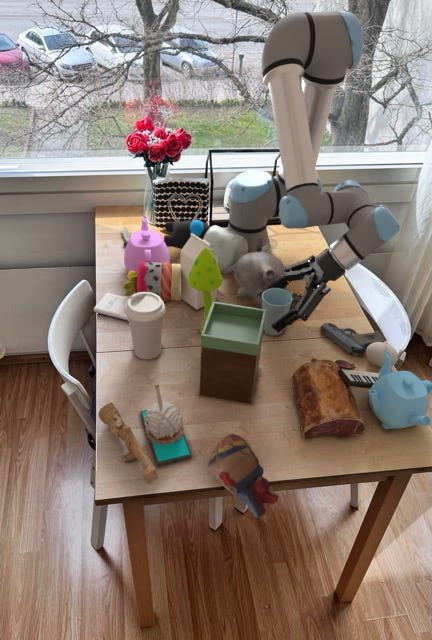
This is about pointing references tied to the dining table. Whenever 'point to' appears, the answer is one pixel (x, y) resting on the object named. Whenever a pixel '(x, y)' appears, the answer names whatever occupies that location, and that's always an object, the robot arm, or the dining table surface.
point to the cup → (275, 307)
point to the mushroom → (205, 278)
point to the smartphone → (169, 449)
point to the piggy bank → (256, 274)
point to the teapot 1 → (145, 248)
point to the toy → (184, 232)
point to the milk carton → (187, 260)
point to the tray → (233, 328)
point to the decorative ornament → (163, 422)
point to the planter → (226, 246)
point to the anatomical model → (241, 473)
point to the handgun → (352, 338)
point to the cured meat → (326, 400)
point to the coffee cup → (145, 323)
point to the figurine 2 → (381, 353)
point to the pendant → (295, 300)
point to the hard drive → (112, 306)
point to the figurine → (127, 440)
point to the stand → (228, 374)
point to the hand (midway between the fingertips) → (269, 312)
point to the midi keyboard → (358, 378)
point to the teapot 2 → (399, 397)
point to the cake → (155, 280)
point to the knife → (126, 236)
